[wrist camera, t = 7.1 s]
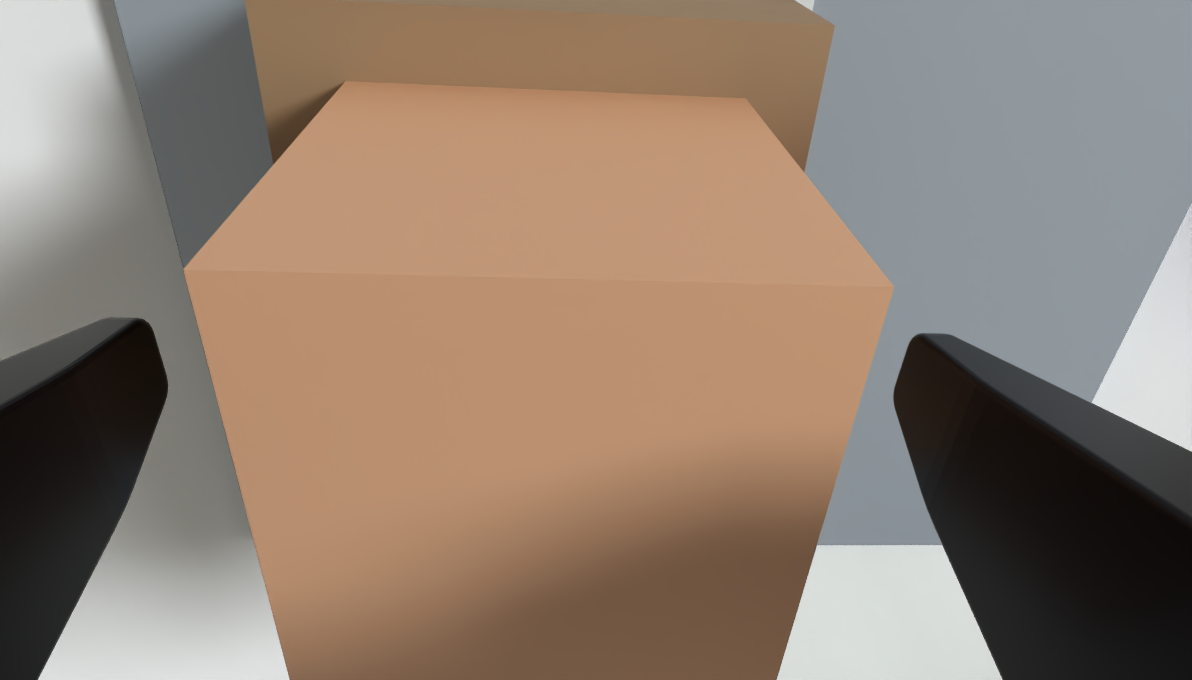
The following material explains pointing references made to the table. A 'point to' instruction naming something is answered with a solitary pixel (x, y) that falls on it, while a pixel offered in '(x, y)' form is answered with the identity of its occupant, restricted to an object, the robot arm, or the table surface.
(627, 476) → the top block
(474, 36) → the base block
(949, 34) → the plate
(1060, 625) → the robot arm
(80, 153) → the table surface
